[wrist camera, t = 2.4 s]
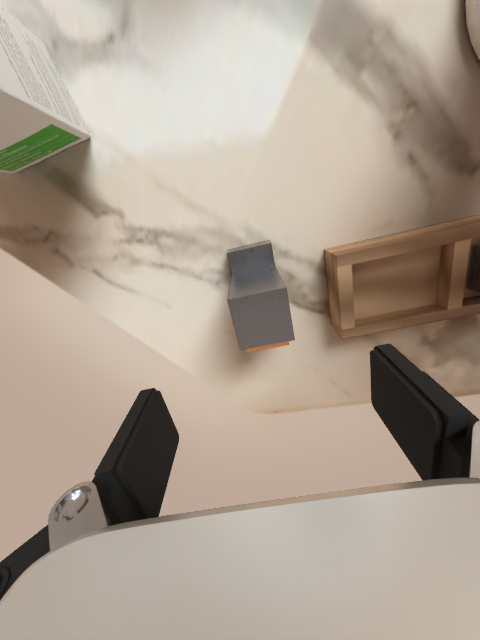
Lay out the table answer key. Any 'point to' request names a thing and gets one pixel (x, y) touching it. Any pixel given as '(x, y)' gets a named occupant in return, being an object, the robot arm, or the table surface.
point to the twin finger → (474, 269)
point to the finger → (258, 298)
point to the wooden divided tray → (402, 278)
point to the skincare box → (32, 101)
